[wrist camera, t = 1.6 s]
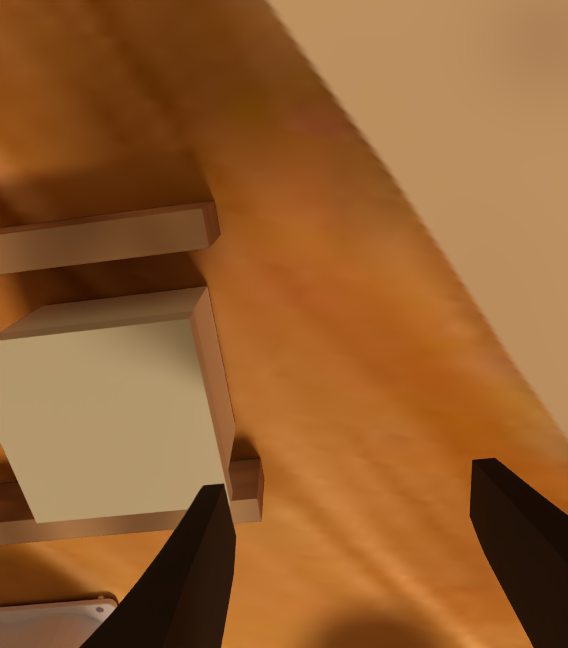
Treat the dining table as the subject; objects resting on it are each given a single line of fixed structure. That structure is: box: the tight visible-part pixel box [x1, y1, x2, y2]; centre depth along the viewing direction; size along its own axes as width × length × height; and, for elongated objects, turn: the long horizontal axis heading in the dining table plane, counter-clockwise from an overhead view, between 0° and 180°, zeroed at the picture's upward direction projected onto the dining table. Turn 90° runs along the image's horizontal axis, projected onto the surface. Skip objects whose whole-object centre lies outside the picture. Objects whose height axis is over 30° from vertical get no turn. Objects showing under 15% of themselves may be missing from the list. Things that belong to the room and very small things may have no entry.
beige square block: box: [0, 286, 236, 523], centre depth 19 cm, size 9×9×5 cm
